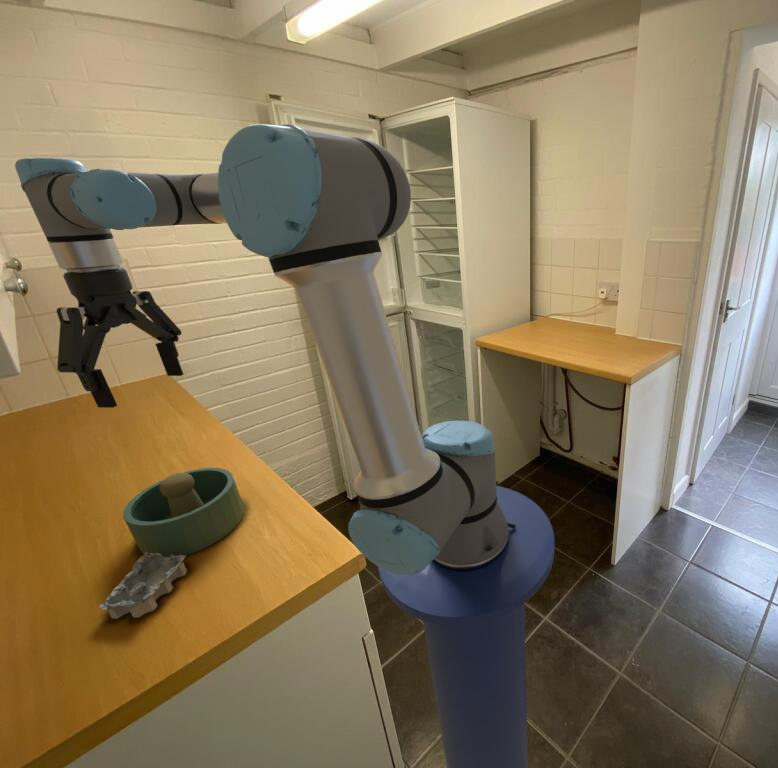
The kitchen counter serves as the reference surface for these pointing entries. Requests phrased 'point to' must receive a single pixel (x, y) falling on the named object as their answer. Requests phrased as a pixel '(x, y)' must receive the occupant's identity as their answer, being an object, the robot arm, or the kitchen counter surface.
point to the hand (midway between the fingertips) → (144, 389)
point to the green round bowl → (185, 515)
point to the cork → (180, 494)
